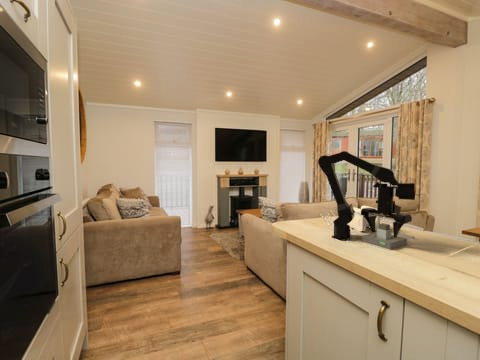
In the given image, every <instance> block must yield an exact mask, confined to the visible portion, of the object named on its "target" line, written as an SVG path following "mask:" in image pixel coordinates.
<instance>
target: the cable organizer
mask: <svg viewBox="0 0 480 360" xmlns="http://www.w3.org/2000/svg"><path fill="white" fill-rule="evenodd" d="M363 208H374V209H376V210H377V207H372V206H368V205H362V206H360V208H358V207H355V206H353V209H354V211H355V213H354V218H353V220H352V221H351V222H350V223H348V225H349V226H350V227H354V228H355V229H356V230H355V229H354V230H355V231H357V230H358V231H357V232H359V231H365V232H366V229H367V228H366V227H370V226H369V224H368V222H367V220H366V218H365V217H363V216H364V215H361V210H362V209H363ZM376 216H377V215H376ZM379 224H381V216H377V217H376V220H375V232H377V228H379Z"/></svg>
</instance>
